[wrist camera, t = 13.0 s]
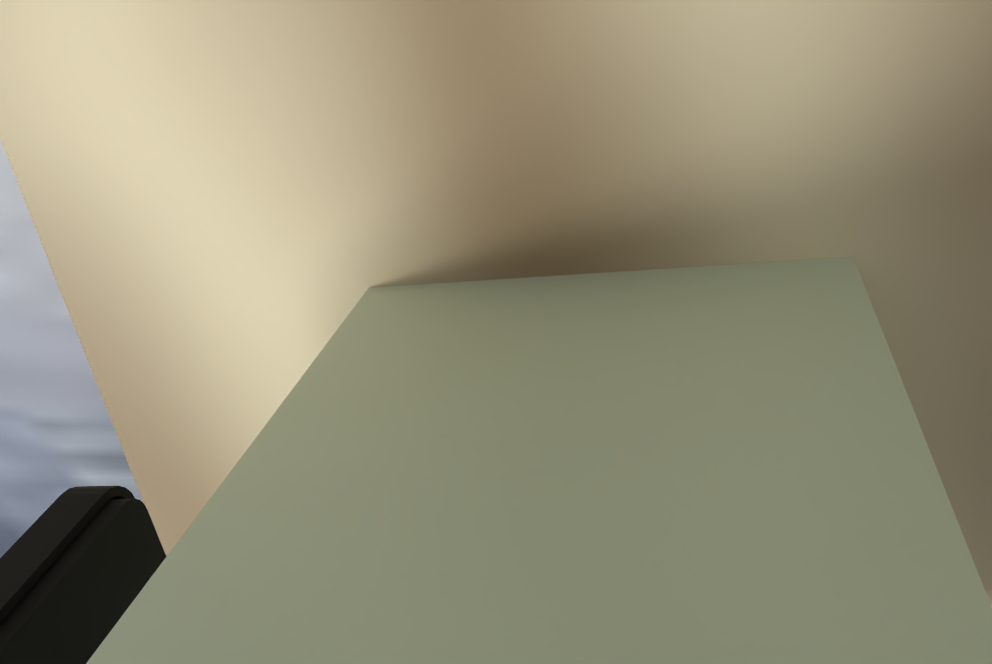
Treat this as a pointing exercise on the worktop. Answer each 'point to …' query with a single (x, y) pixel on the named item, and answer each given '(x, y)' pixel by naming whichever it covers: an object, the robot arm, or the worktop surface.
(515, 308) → the brick
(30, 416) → the worktop surface
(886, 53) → the base board
